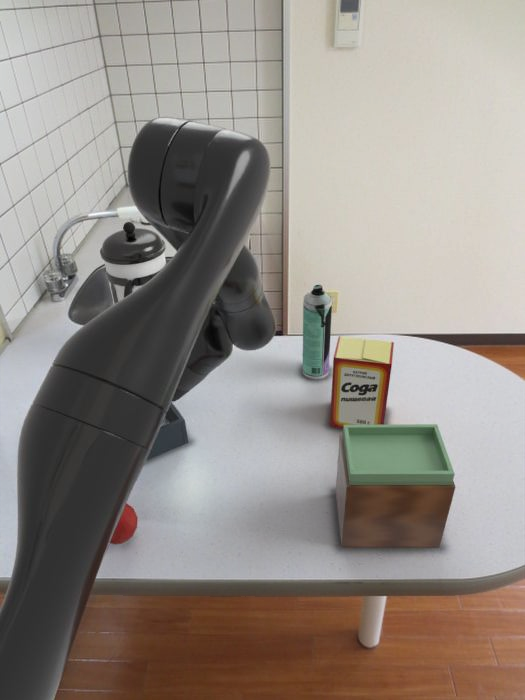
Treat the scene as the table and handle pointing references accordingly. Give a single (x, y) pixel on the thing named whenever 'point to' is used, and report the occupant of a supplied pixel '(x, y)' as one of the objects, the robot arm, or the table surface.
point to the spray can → (316, 333)
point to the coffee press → (132, 259)
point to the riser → (390, 512)
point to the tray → (396, 455)
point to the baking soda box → (360, 381)
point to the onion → (125, 526)
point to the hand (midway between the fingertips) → (125, 414)
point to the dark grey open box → (170, 434)
